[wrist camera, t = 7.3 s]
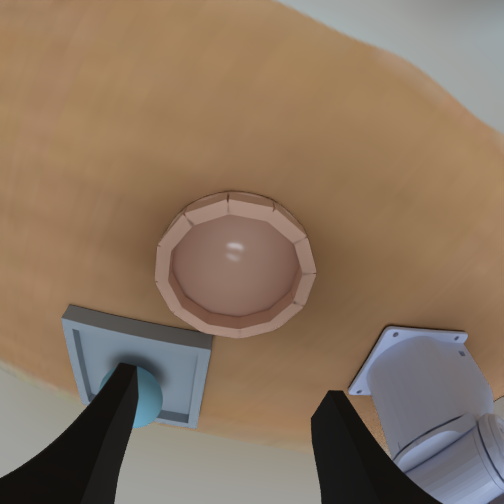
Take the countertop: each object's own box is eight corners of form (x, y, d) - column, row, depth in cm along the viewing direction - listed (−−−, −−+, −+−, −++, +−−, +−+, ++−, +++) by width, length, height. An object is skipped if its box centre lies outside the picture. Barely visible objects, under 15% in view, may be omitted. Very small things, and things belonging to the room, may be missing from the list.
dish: (329, 209, 18) (336, 220, 17) (287, 329, 23) (290, 345, 21) (169, 178, 17) (162, 186, 16) (156, 309, 22) (151, 324, 20)
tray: (212, 334, 23) (211, 350, 21) (197, 415, 28) (196, 428, 26) (69, 304, 21) (61, 317, 20) (87, 391, 26) (82, 403, 25)
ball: (169, 359, 23) (160, 413, 19) (164, 396, 25) (156, 444, 21) (106, 345, 22) (88, 395, 18) (108, 383, 25) (95, 429, 20)
